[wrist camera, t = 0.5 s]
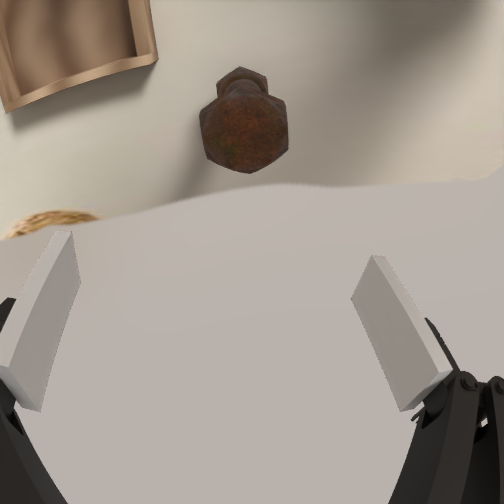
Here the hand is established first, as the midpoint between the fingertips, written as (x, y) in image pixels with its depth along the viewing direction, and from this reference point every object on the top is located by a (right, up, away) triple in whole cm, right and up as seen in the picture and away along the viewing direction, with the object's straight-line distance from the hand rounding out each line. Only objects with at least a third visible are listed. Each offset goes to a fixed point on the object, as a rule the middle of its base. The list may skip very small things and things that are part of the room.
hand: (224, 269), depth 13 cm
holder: (-18, +26, +7) cm, 32 cm away
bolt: (0, +18, +16) cm, 24 cm away
